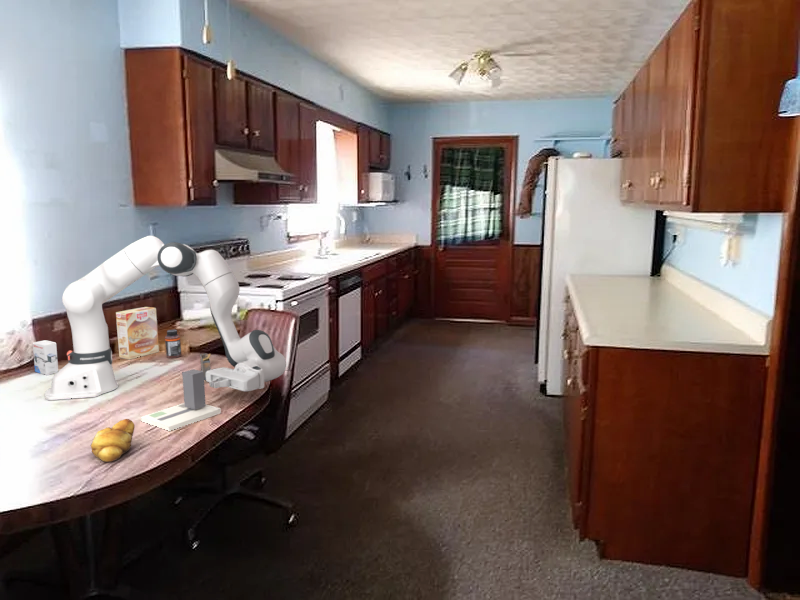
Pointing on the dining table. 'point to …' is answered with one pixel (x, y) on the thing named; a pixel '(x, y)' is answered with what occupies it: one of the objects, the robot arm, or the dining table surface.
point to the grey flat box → (205, 363)
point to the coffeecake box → (137, 332)
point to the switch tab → (194, 389)
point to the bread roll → (113, 441)
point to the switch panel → (179, 416)
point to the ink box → (45, 357)
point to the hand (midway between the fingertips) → (212, 385)
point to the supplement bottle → (172, 344)
